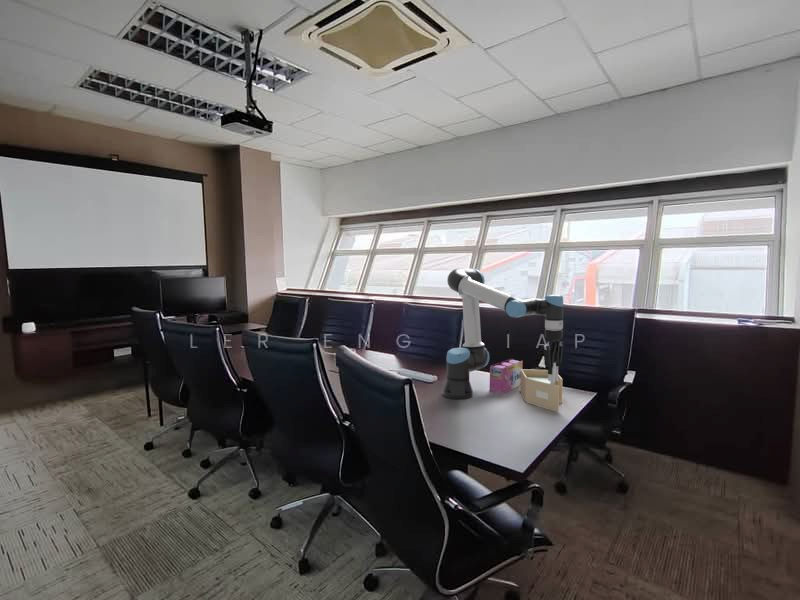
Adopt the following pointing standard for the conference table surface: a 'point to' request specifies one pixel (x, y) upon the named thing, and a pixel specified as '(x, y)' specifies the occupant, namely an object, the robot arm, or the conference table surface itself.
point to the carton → (539, 376)
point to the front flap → (543, 393)
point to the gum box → (505, 375)
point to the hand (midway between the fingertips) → (552, 380)
